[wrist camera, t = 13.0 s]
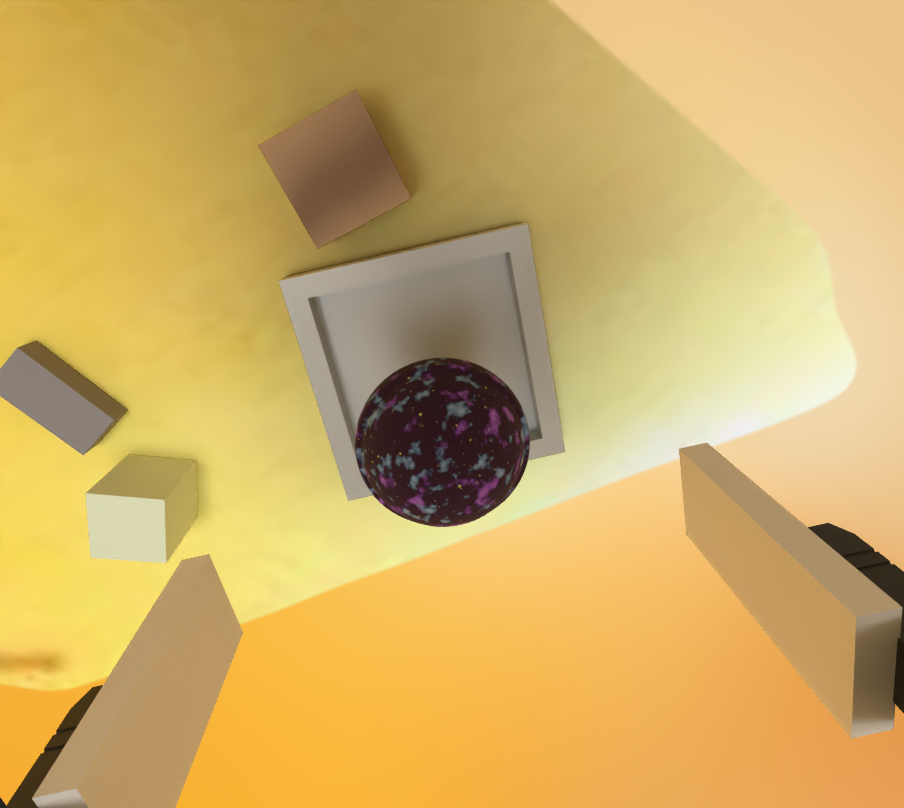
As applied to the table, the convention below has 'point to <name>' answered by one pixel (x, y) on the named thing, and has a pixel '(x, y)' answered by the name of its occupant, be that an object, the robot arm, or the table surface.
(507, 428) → the lollipop
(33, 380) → the rubber eraser
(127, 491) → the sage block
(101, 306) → the table surface
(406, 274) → the tray
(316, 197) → the walnut cube
